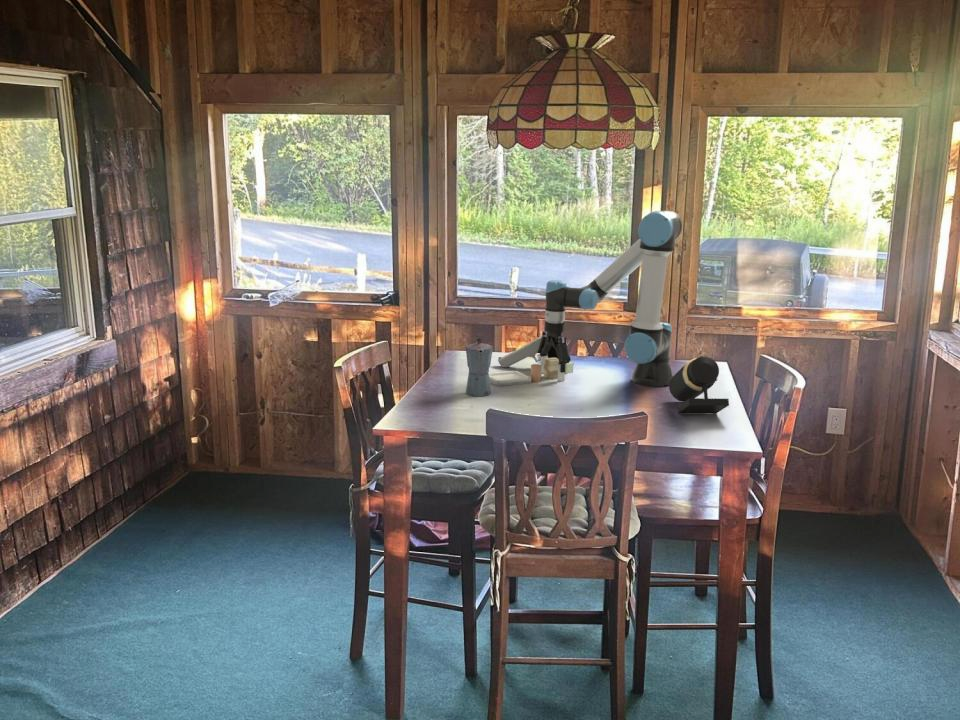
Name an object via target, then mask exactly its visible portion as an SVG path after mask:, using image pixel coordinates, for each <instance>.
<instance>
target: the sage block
mask: <svg viewBox="0 0 960 720" xmlns="http://www.w3.org/2000/svg"><path fill="white" fill-rule="evenodd" d="M568 373H569V374H572V373H574V361H573V362H572V361H571V362H569V363H567V364H566V365H565V375H569V374H568Z"/></svg>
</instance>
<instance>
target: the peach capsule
mask: <svg viewBox="0 0 960 720" xmlns="http://www.w3.org/2000/svg"><path fill="white" fill-rule="evenodd" d="M541 369H542V365H541V364H536V363H534V364H531V365H530V377H531V381H532V382H531V383H541V382H542V373H541Z"/></svg>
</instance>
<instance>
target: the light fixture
mask: <svg viewBox="0 0 960 720" xmlns="http://www.w3.org/2000/svg"><path fill="white" fill-rule="evenodd" d="M719 374H720V368H719V365H718V363H717V362H716V360H715V359H713V358H711V357H710V356H705V355H700V356H699V357H695V358H693V359H690V360H689V361H688V362H686V363H685V364H684V365H683V366H682V367H681V368H680V369H679V370H678V371H677V372H676V373H675V374H674V375H672V376H673V377H672V378H671V380H670V383H669V385H668V388H669V389H668V390H669V392H670V394H671V396H672V397H673V398H674V399H676V400H677V401H679V402H682V401H685V402H682V403H681V404H680V405H679V406H677V414H680V413H716V414H718V413H720V412H721V411H722V410H724V409H726V408H727V407H729V406H730V401H729V398H709V396H708V390H709V389H711V388H712V387H713V385H714V384H715V383H716V382H717V381H718V377H719ZM702 394H703V398H698V397H699V396H701V395H702Z"/></svg>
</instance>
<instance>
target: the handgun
mask: <svg viewBox="0 0 960 720" xmlns="http://www.w3.org/2000/svg"><path fill="white" fill-rule="evenodd" d="M541 338H542V335H541V336H539V337H537V338H535V339H534V340H532V341H531V342H529V343H527V344H524V346H522V347H520V348H517V349H516V350H513V351H512V352H510V353H508V354H505V355H504V356H502V357H501V356H499V357H498V359H497V361H498V364H499V365H500V366H501V367H502V368H503V367H505V368H506V367H507V368H509V367H511V366H513V365H515V364H517V363H519V362H520V361H523V360H525V359H526V358H533V359H534V361H535V363H538V362H541V357H540V358H537V357H536V355H537V354H539V353H538V349H539V345H540V342H541ZM541 350H542V349H541ZM546 356H548V358H558V357H557V353H556V350H555V349H554V348H553V346H551V348H550V350H549V352H548V355H546ZM568 357H569V362H572V360H571V356H570V355H569V354H568Z"/></svg>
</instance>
